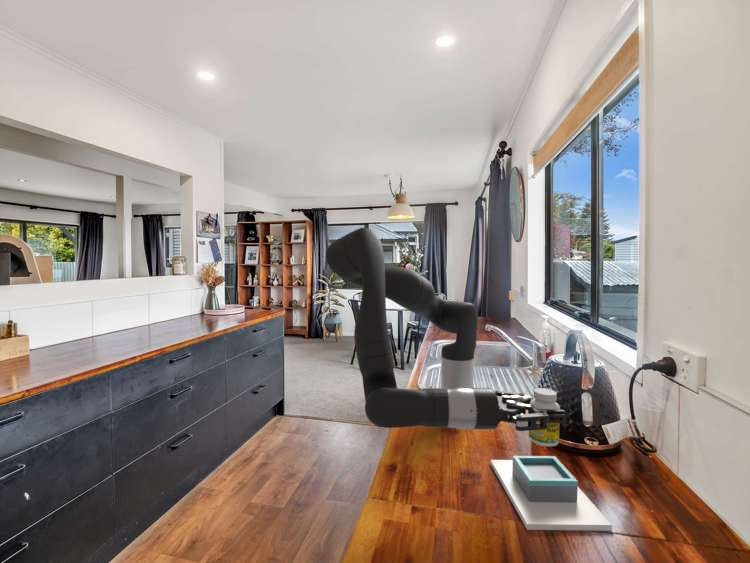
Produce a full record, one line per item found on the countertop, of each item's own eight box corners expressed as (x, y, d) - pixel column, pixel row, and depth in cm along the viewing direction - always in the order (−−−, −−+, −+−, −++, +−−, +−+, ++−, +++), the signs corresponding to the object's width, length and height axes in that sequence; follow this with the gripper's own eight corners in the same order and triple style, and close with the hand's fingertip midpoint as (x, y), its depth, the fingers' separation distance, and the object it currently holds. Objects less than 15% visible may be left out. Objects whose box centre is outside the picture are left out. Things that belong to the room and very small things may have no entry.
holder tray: (490, 464, 81) (491, 442, 81) (554, 464, 81) (554, 442, 81) (527, 529, 61) (527, 500, 61) (611, 530, 61) (612, 501, 61)
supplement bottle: (538, 431, 74) (540, 384, 74) (564, 442, 70) (567, 393, 69) (522, 438, 71) (524, 389, 71) (548, 450, 67) (550, 398, 66)
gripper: (480, 402, 63) (579, 405, 63) (461, 377, 77) (542, 378, 77) (479, 445, 64) (577, 447, 63) (460, 412, 78) (541, 413, 78)
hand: (557, 409), depth 70 cm, fingers closed on supplement bottle, 5 cm apart
